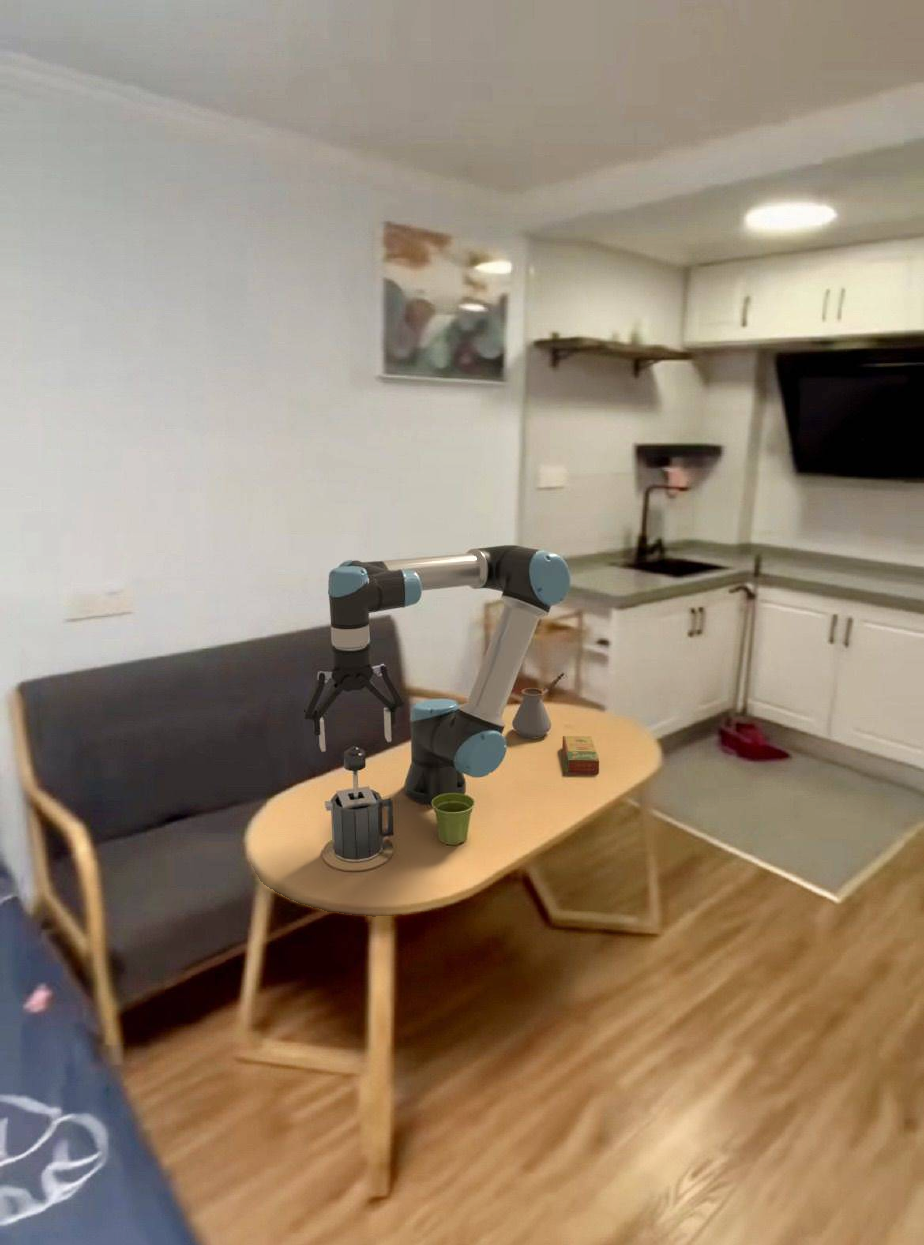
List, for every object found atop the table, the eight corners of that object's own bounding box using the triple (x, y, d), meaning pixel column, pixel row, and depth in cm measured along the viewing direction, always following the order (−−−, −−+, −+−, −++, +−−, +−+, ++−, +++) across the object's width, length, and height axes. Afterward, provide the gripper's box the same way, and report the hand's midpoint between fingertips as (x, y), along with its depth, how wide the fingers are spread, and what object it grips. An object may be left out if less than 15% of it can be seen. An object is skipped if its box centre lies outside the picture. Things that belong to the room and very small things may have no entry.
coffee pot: (534, 744, 224) (536, 694, 220) (503, 733, 232) (504, 684, 228) (578, 723, 239) (580, 676, 235) (548, 713, 247) (549, 668, 243)
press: (385, 829, 178) (383, 775, 175) (402, 864, 164) (401, 806, 161) (317, 840, 173) (314, 785, 170) (329, 877, 160) (326, 818, 156)
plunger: (370, 829, 172) (367, 738, 167) (377, 845, 166) (374, 751, 161) (338, 834, 170) (334, 742, 165) (344, 851, 164) (340, 756, 158)
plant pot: (434, 826, 180) (434, 791, 177) (476, 828, 179) (476, 793, 176) (428, 848, 171) (428, 811, 168) (472, 850, 170) (472, 813, 167)
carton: (591, 749, 221) (592, 735, 220) (599, 775, 206) (600, 759, 205) (561, 749, 222) (562, 734, 220) (567, 774, 206) (568, 759, 205)
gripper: (406, 633, 164) (409, 728, 170) (284, 646, 157) (291, 745, 162) (416, 643, 158) (419, 742, 163) (289, 657, 150) (296, 760, 155)
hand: (355, 744), depth 163 cm, fingers open, 13 cm apart
